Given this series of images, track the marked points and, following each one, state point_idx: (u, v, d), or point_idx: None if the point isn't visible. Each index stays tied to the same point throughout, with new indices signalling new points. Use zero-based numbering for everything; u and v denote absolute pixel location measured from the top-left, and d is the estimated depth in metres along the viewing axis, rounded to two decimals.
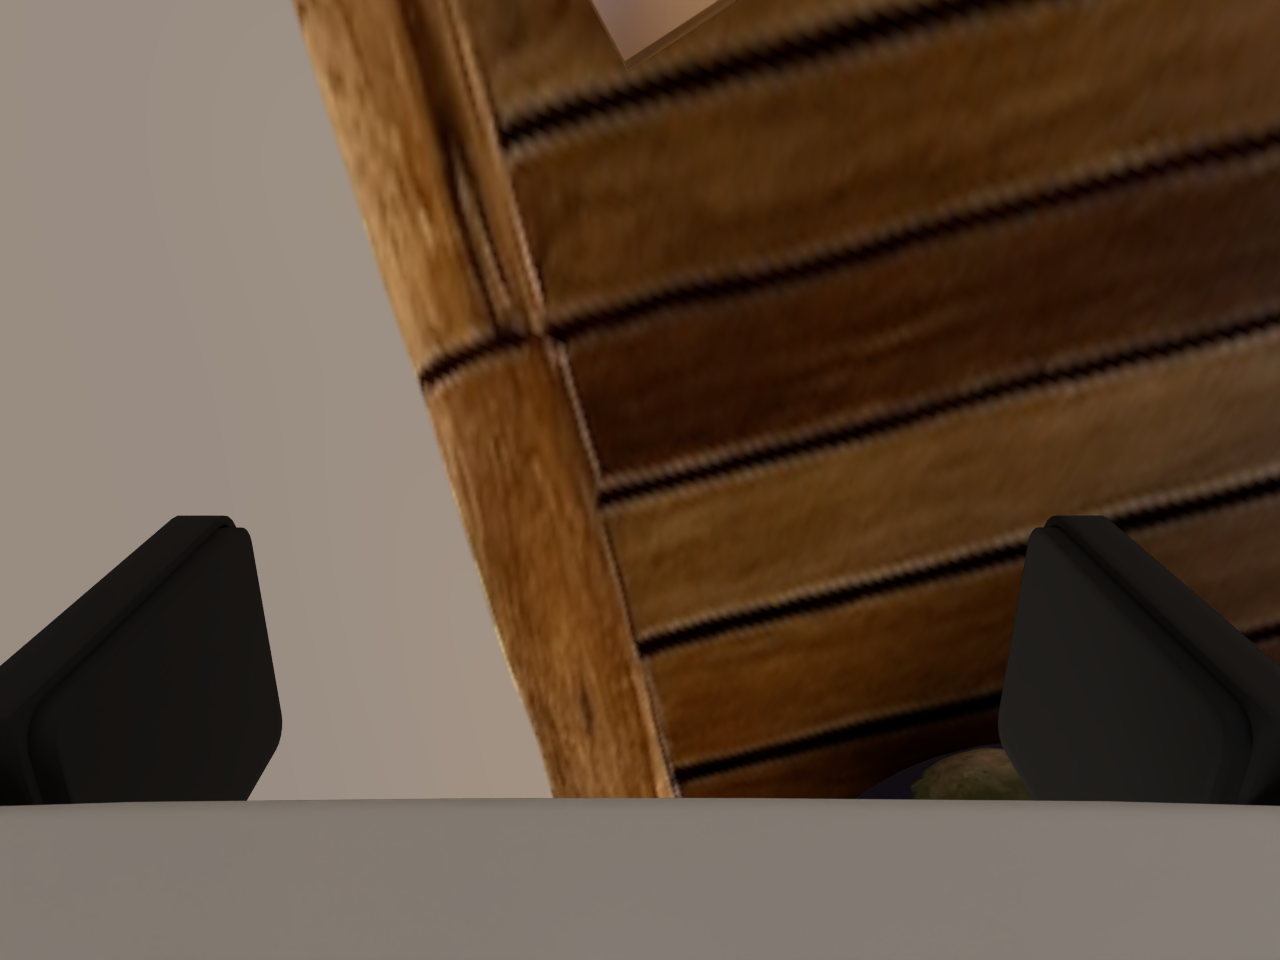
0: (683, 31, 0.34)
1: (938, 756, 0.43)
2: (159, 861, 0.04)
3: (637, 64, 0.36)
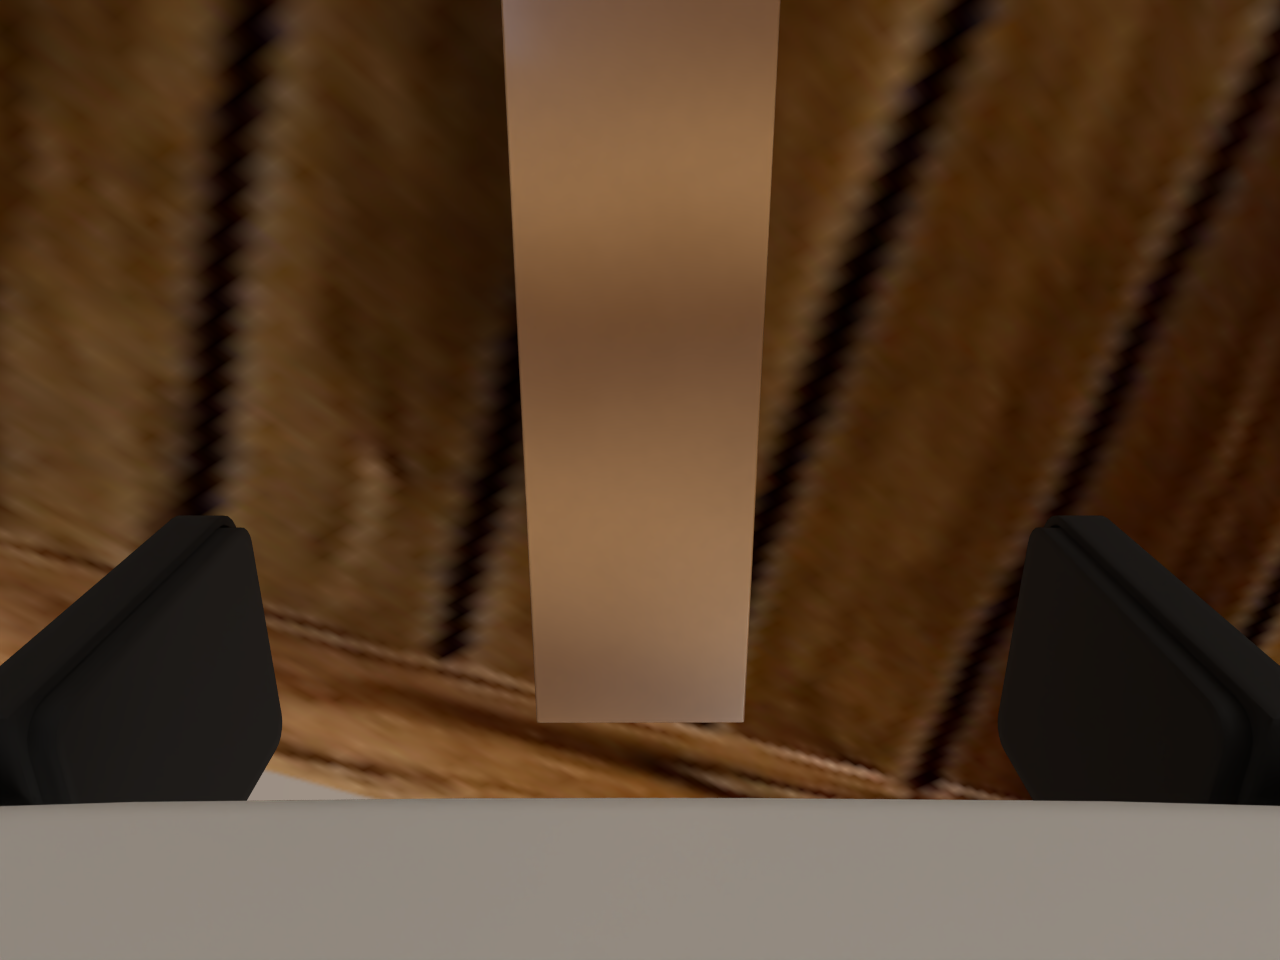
0: None
1: None
2: (159, 861, 0.04)
3: None
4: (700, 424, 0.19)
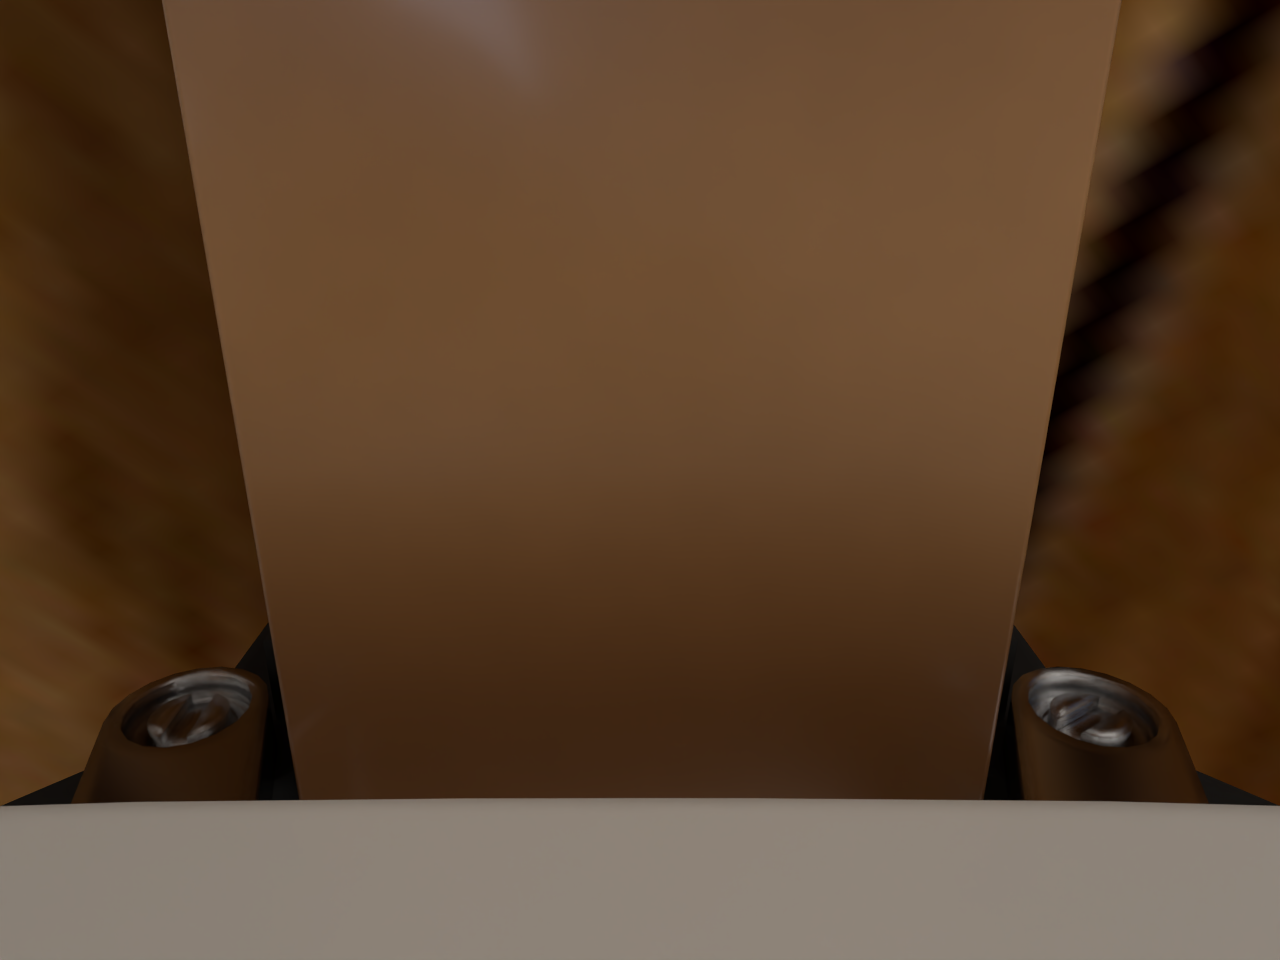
0: None
1: None
2: (158, 861, 0.04)
3: None
4: None
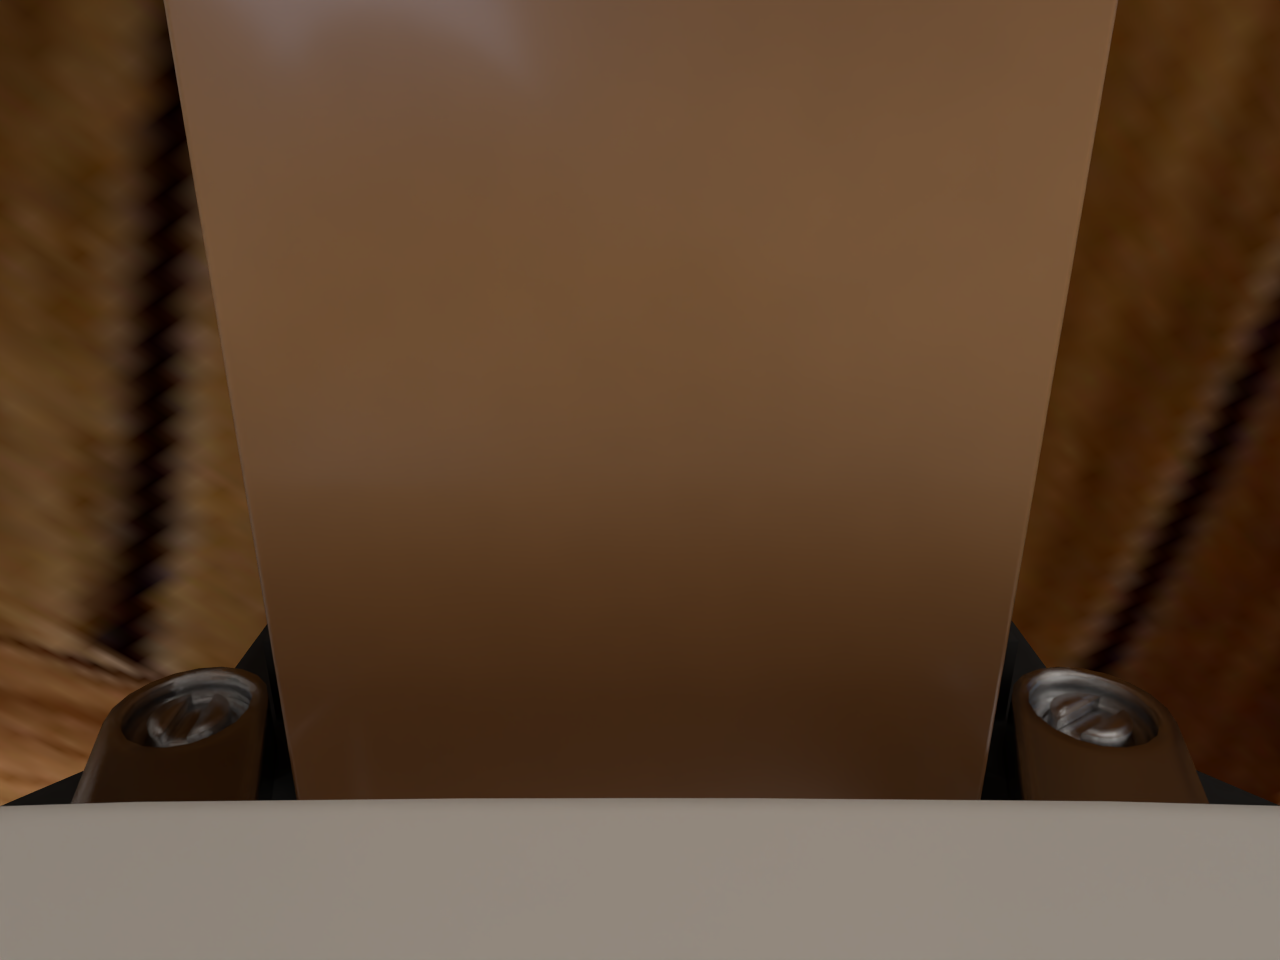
0: None
1: None
2: (160, 861, 0.04)
3: None
4: None
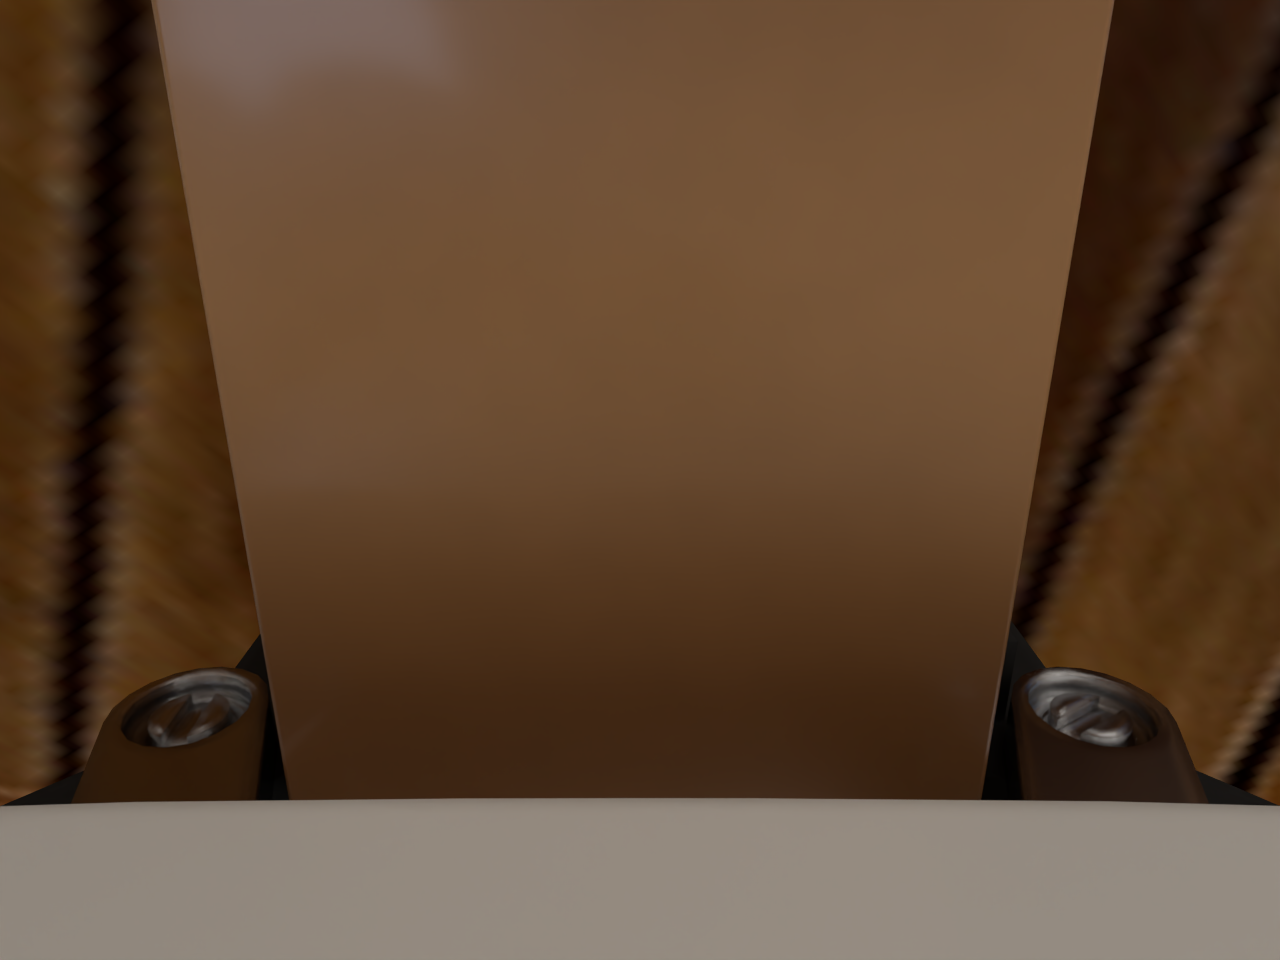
0: None
1: None
2: (159, 861, 0.04)
3: None
4: None
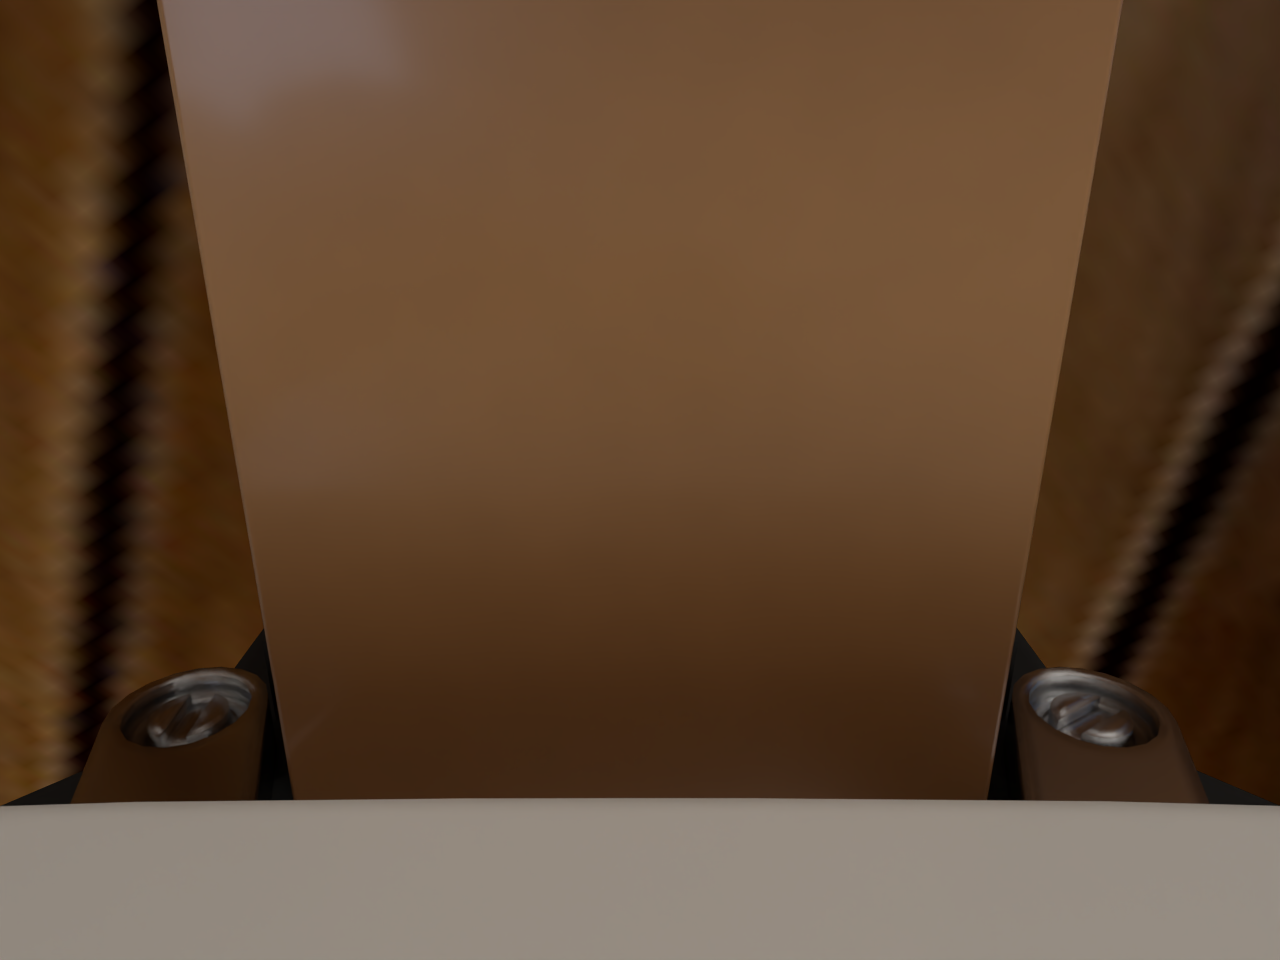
0: None
1: None
2: (159, 861, 0.04)
3: None
4: None
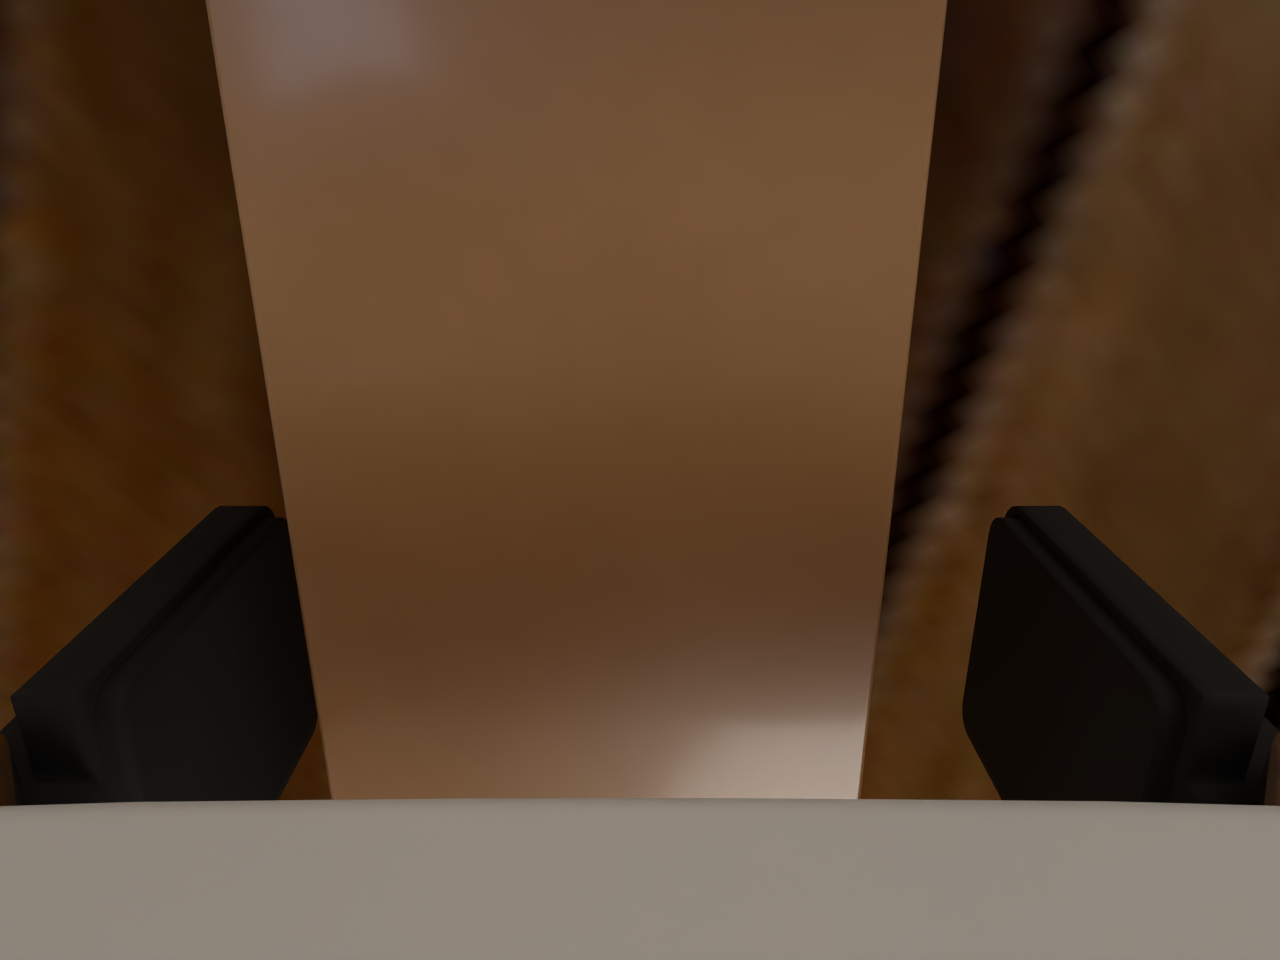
0: None
1: None
2: (159, 861, 0.04)
3: None
4: (730, 797, 0.09)
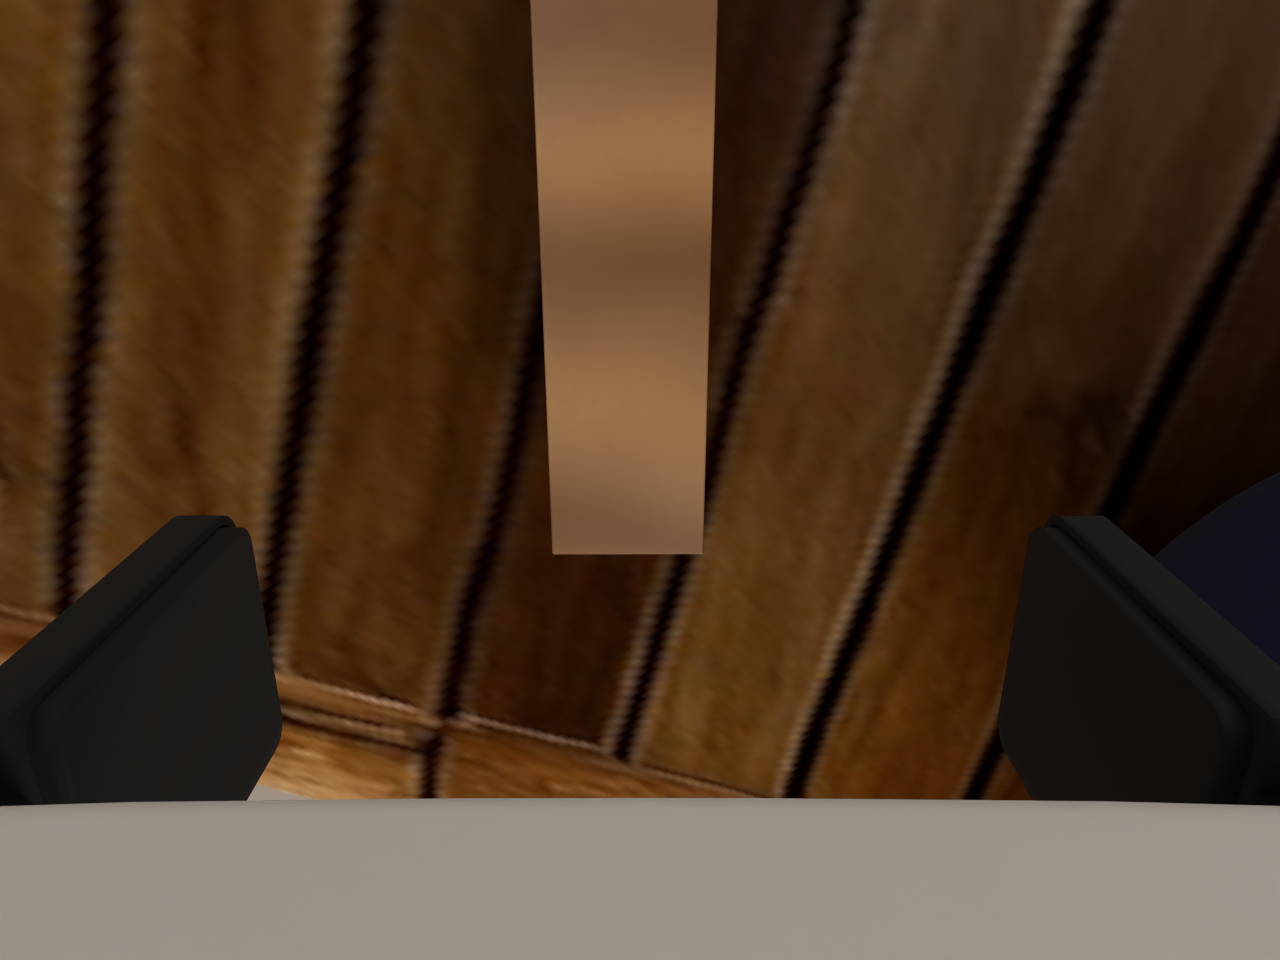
0: None
1: None
2: (159, 861, 0.04)
3: None
4: (668, 328, 0.28)
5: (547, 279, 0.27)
